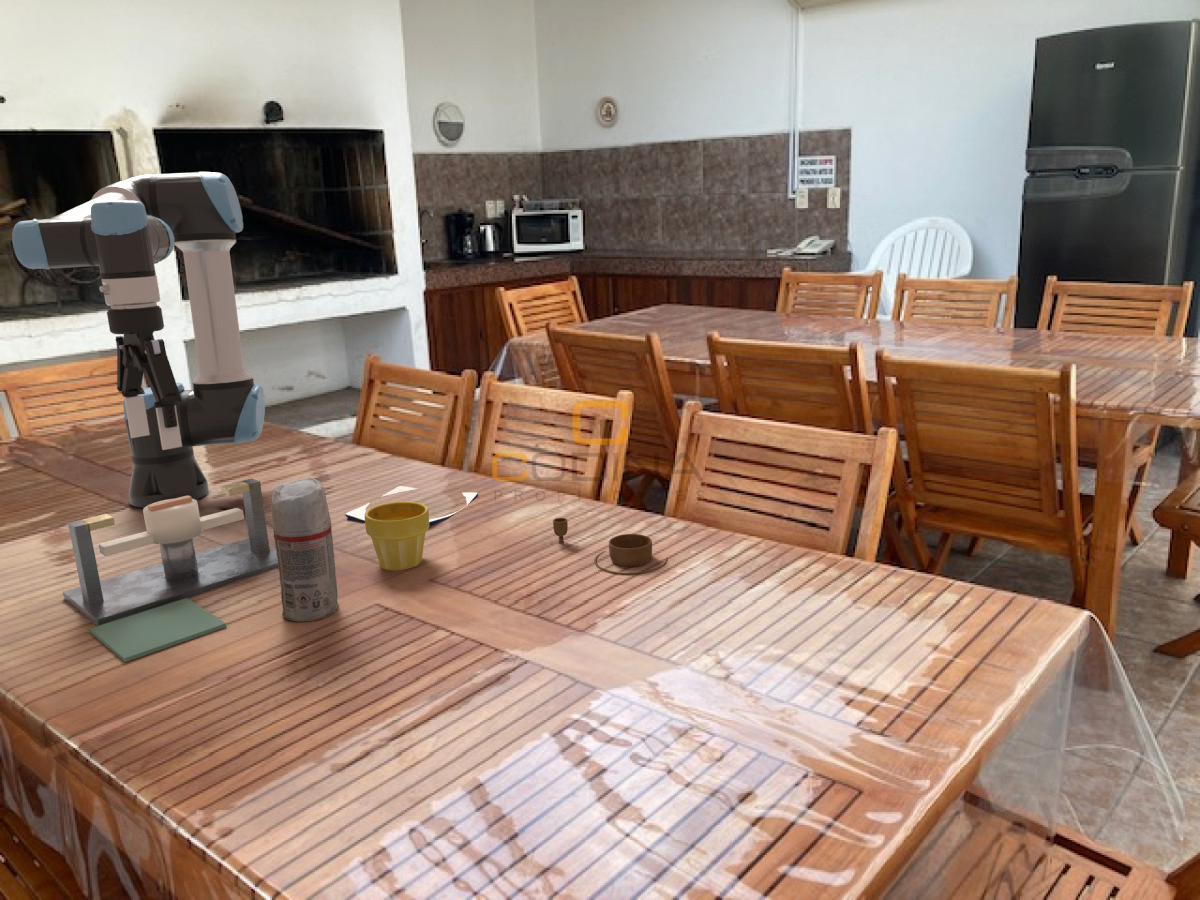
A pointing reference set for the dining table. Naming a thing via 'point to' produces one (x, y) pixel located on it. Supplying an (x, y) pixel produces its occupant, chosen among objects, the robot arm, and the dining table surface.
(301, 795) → the dining table surface
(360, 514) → the plate
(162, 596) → the grey frame
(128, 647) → the mat
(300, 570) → the spray can
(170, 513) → the cream crossbar with hub
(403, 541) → the plant pot
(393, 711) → the dining table surface
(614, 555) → the place setting
